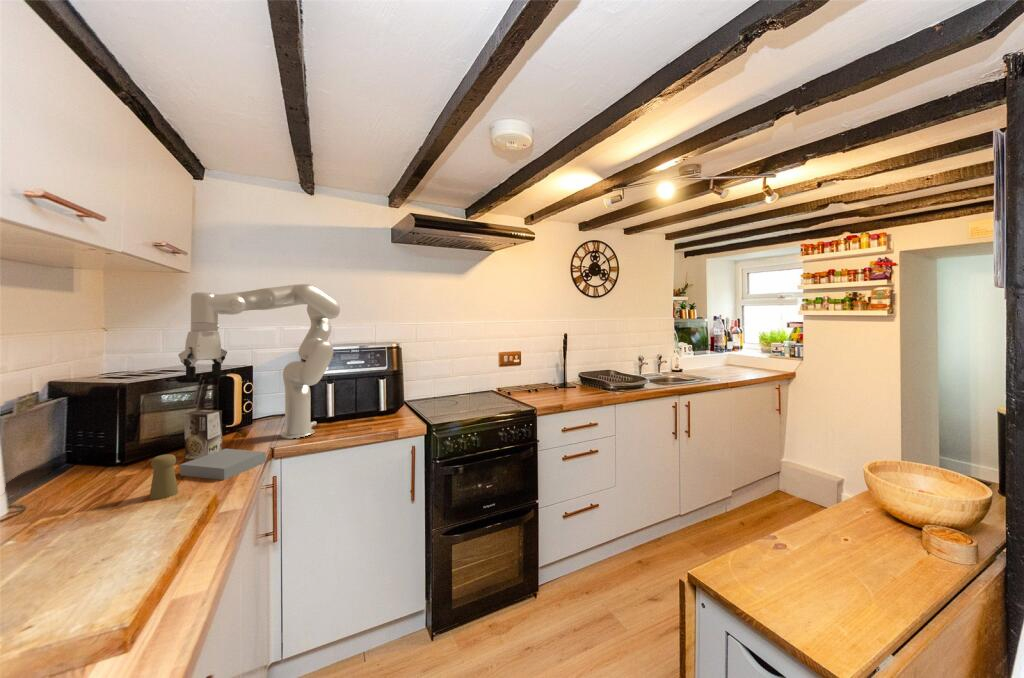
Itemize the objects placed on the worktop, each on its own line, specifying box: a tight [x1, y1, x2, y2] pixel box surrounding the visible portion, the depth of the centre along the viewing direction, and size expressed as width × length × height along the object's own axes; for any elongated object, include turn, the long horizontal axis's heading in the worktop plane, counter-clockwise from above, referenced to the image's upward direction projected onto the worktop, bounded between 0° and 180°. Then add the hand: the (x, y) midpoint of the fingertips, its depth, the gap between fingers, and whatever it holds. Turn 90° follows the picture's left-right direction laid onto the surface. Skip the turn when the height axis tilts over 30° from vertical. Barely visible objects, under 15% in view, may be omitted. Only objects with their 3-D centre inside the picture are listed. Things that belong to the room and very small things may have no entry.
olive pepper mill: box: [149, 453, 179, 500], centre depth 108 cm, size 6×6×11 cm
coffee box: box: [183, 409, 223, 460], centre depth 139 cm, size 9×6×16 cm
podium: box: [179, 448, 267, 481], centre depth 128 cm, size 16×16×4 cm
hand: (204, 376), depth 138 cm, fingers open, 9 cm apart
